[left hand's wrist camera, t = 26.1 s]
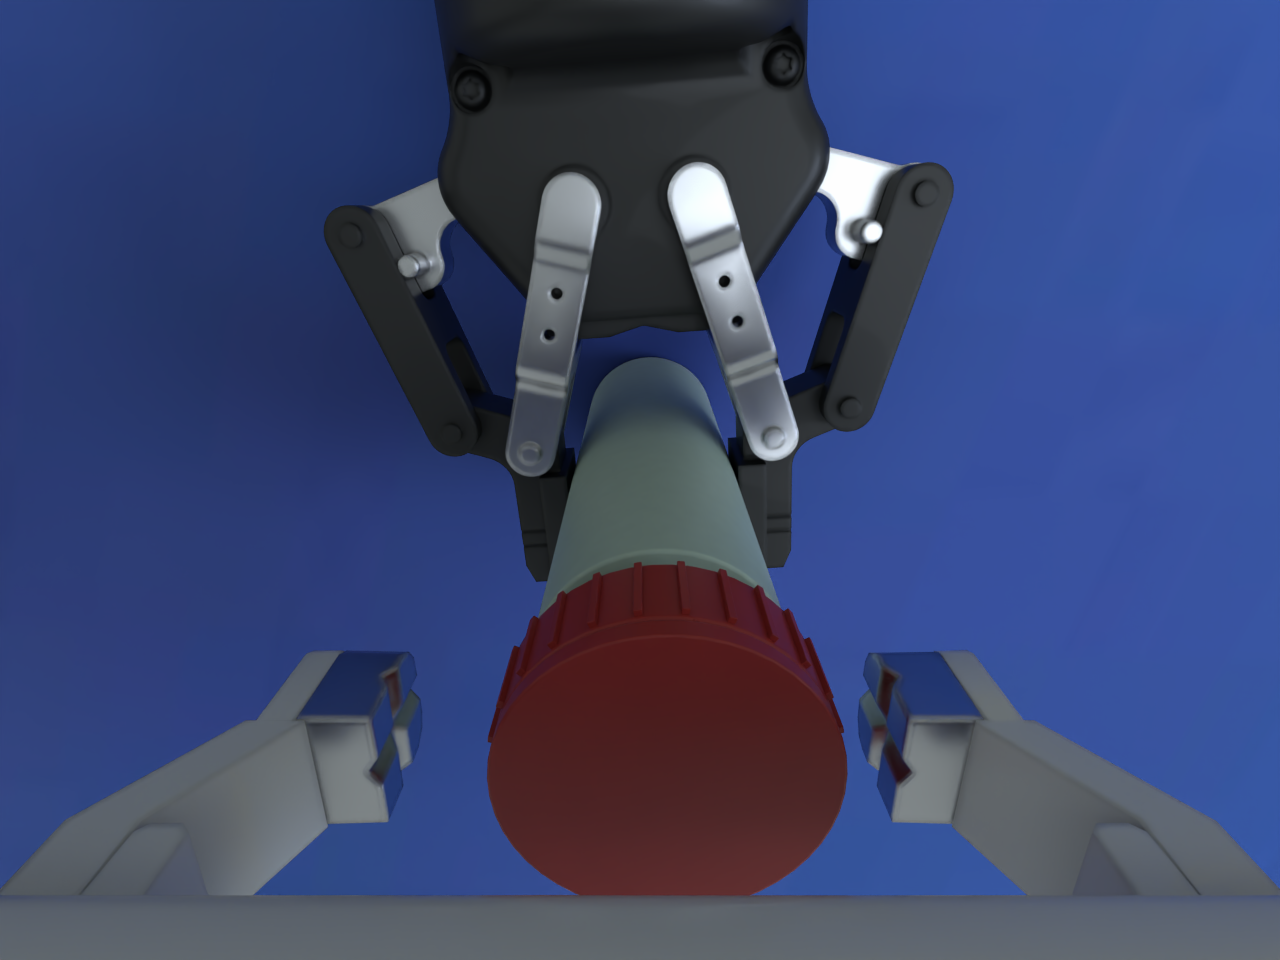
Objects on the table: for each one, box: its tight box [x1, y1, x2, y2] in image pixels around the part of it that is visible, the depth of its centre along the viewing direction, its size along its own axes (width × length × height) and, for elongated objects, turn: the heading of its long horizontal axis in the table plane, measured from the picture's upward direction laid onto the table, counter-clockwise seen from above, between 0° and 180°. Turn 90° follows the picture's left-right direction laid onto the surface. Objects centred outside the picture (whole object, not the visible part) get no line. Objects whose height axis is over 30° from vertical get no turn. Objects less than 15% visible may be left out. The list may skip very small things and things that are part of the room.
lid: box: [487, 561, 847, 895], centre depth 10 cm, size 5×5×2 cm
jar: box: [538, 357, 781, 618], centre depth 17 cm, size 4×4×16 cm
